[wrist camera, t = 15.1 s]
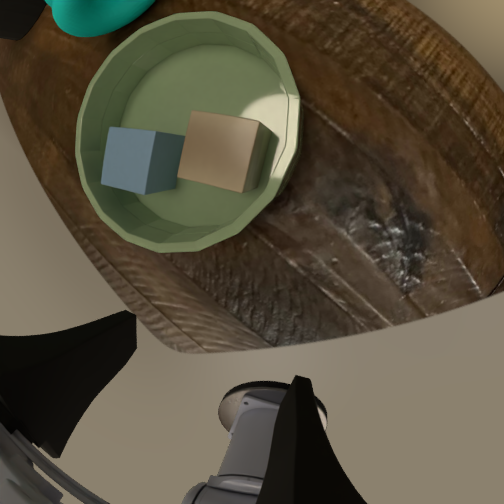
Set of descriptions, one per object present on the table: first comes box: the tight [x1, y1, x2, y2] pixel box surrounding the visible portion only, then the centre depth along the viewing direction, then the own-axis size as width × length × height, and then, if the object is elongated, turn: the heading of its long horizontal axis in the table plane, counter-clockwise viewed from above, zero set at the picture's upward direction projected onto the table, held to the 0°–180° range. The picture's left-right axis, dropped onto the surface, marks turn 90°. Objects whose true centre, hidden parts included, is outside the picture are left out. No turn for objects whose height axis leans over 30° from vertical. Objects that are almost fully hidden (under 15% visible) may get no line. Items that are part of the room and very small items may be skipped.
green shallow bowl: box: [75, 11, 304, 253], centre depth 16 cm, size 15×15×5 cm
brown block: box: [177, 110, 272, 193], centre depth 15 cm, size 4×4×4 cm
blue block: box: [101, 127, 185, 195], centre depth 17 cm, size 4×4×4 cm
